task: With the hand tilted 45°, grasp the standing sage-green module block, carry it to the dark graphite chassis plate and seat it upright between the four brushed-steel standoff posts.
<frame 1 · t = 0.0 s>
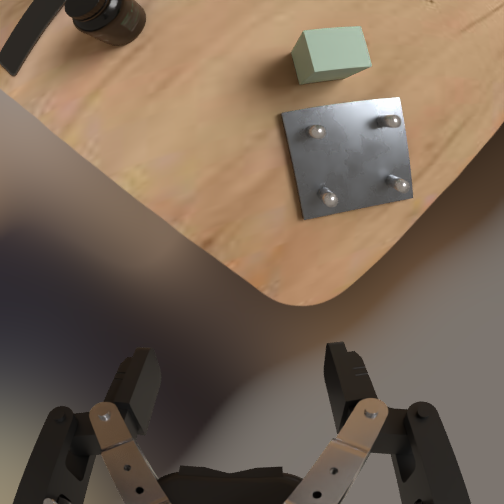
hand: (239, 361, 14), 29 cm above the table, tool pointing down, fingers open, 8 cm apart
chassis: (351, 155, 38), on the table
smartphone: (33, 27, 29), on the table
supplement bottle: (124, 25, 31), on the table
module: (318, 65, 34), on the table
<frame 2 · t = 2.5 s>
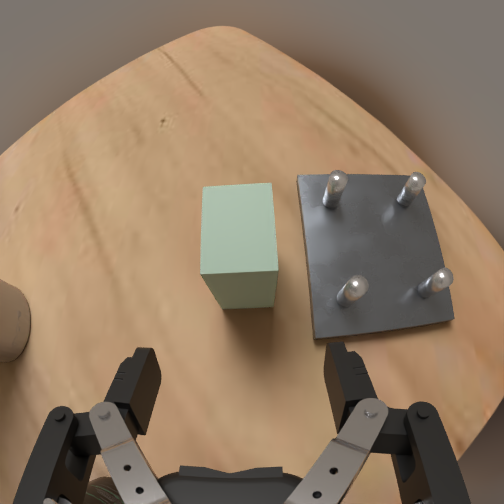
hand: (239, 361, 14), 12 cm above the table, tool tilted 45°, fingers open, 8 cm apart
chassis: (375, 249, 29), on the table
module: (246, 275, 28), on the table
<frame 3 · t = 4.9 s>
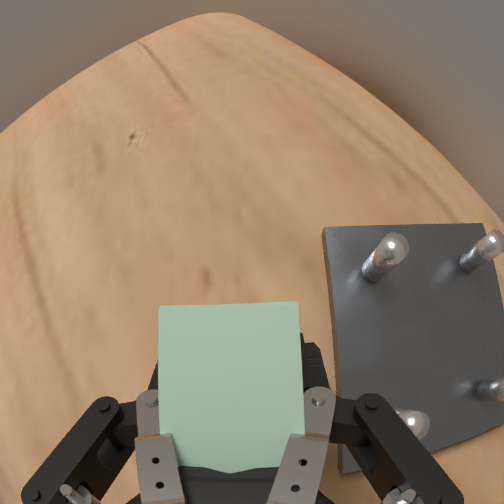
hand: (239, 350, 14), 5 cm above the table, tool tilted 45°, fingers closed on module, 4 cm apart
chassis: (428, 337, 18), on the table
module: (246, 385, 18), on the table, touching gripper
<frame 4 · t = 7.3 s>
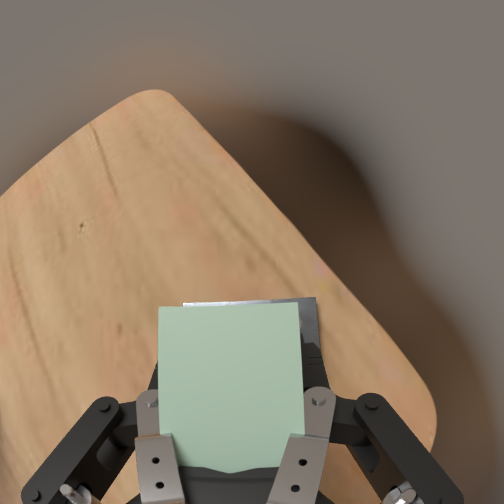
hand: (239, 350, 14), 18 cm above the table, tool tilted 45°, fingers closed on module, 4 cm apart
chassis: (252, 377, 31), on the table
module: (247, 386, 18), point 13 cm above the table, touching gripper
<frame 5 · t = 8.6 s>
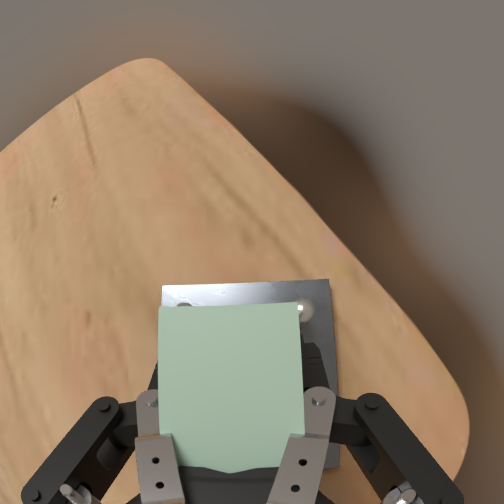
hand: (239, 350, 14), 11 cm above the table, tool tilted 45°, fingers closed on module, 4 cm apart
chassis: (248, 380, 24), on the table
module: (246, 386, 18), point 6 cm above the table, touching gripper
when the fingers open (7 cm above the table, at t = 9.7 s): module drops 1 cm, resting on chassis.
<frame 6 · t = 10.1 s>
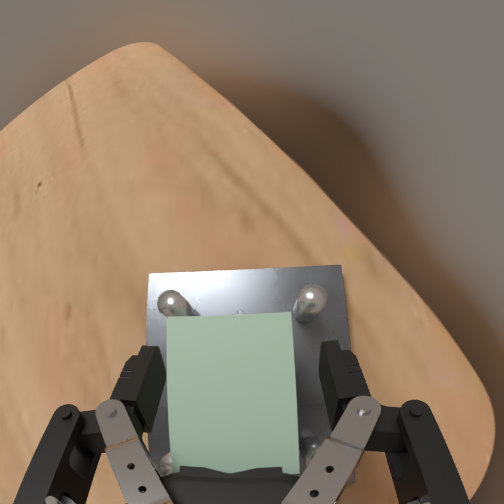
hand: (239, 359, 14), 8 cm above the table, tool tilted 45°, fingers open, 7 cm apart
chassis: (248, 384, 20), on the table
module: (246, 386, 19), point 1 cm above the table, touching chassis
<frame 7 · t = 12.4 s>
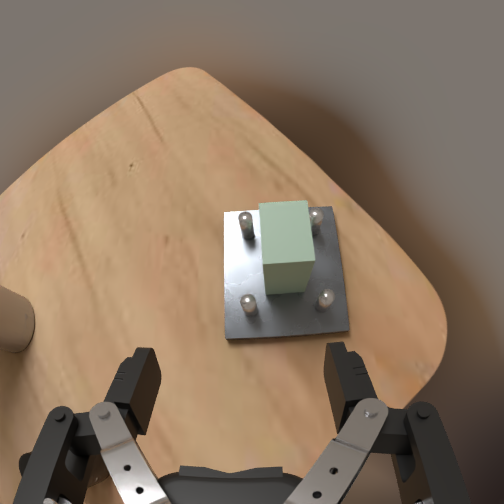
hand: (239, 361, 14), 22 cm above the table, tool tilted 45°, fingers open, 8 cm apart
chassis: (283, 271, 38), on the table
supplement bottle: (91, 458, 30), on the table
module: (283, 268, 37), point 1 cm above the table, touching chassis
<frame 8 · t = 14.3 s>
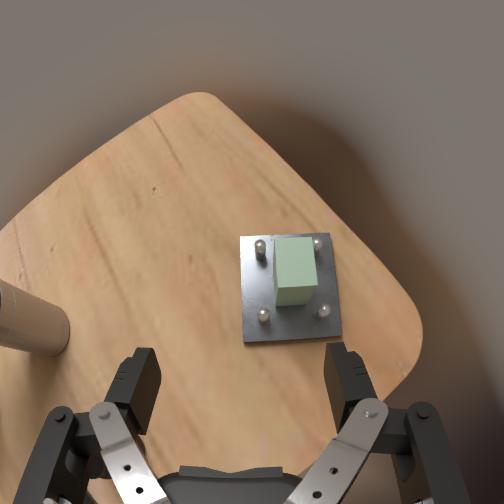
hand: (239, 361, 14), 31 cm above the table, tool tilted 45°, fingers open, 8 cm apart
chassis: (289, 286, 46), on the table
supplement bottle: (125, 445, 38), on the table
module: (289, 285, 45), point 1 cm above the table, touching chassis
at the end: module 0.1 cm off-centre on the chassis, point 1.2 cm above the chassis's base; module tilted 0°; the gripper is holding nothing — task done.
